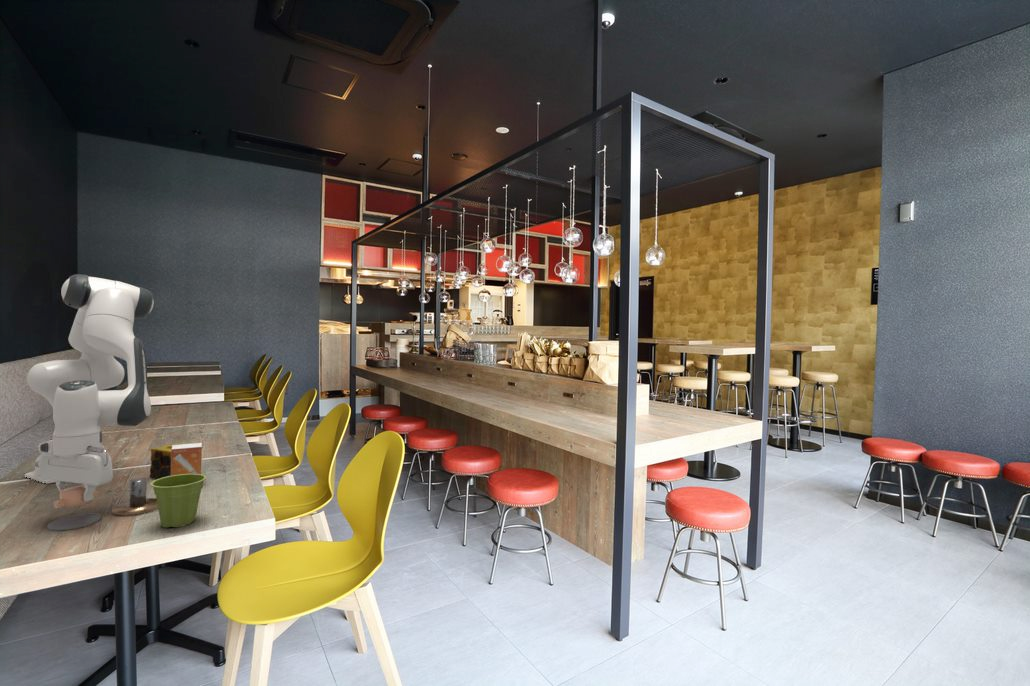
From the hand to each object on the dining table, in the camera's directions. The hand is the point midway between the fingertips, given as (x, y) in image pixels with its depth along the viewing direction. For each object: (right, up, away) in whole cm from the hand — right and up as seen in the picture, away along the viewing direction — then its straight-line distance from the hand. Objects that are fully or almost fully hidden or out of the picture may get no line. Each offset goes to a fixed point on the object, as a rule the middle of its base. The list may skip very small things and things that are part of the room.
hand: (76, 498), depth 121 cm
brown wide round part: (+7, -6, +10) cm, 14 cm away
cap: (0, -1, 0) cm, 1 cm away
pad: (0, -6, 0) cm, 6 cm away
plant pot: (+25, -7, +2) cm, 26 cm away
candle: (-4, -6, +40) cm, 41 cm away
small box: (+7, -6, +30) cm, 32 cm away
